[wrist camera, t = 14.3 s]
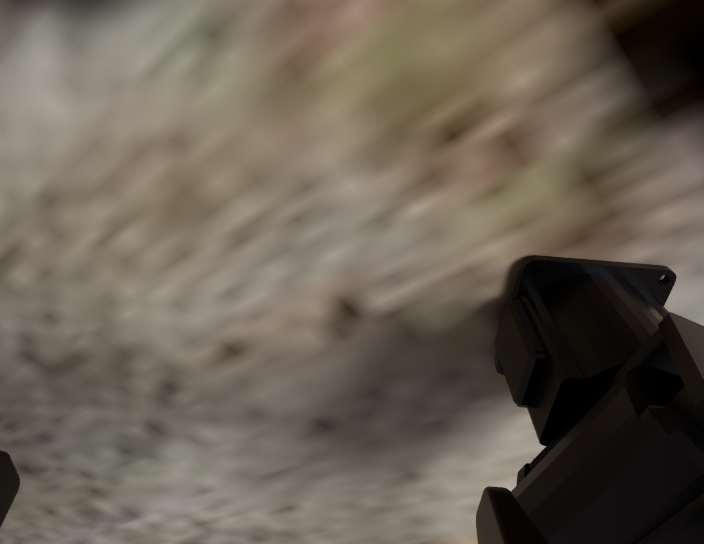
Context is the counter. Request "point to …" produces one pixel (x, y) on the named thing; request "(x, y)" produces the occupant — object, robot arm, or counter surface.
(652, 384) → the robot arm
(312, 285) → the counter surface
